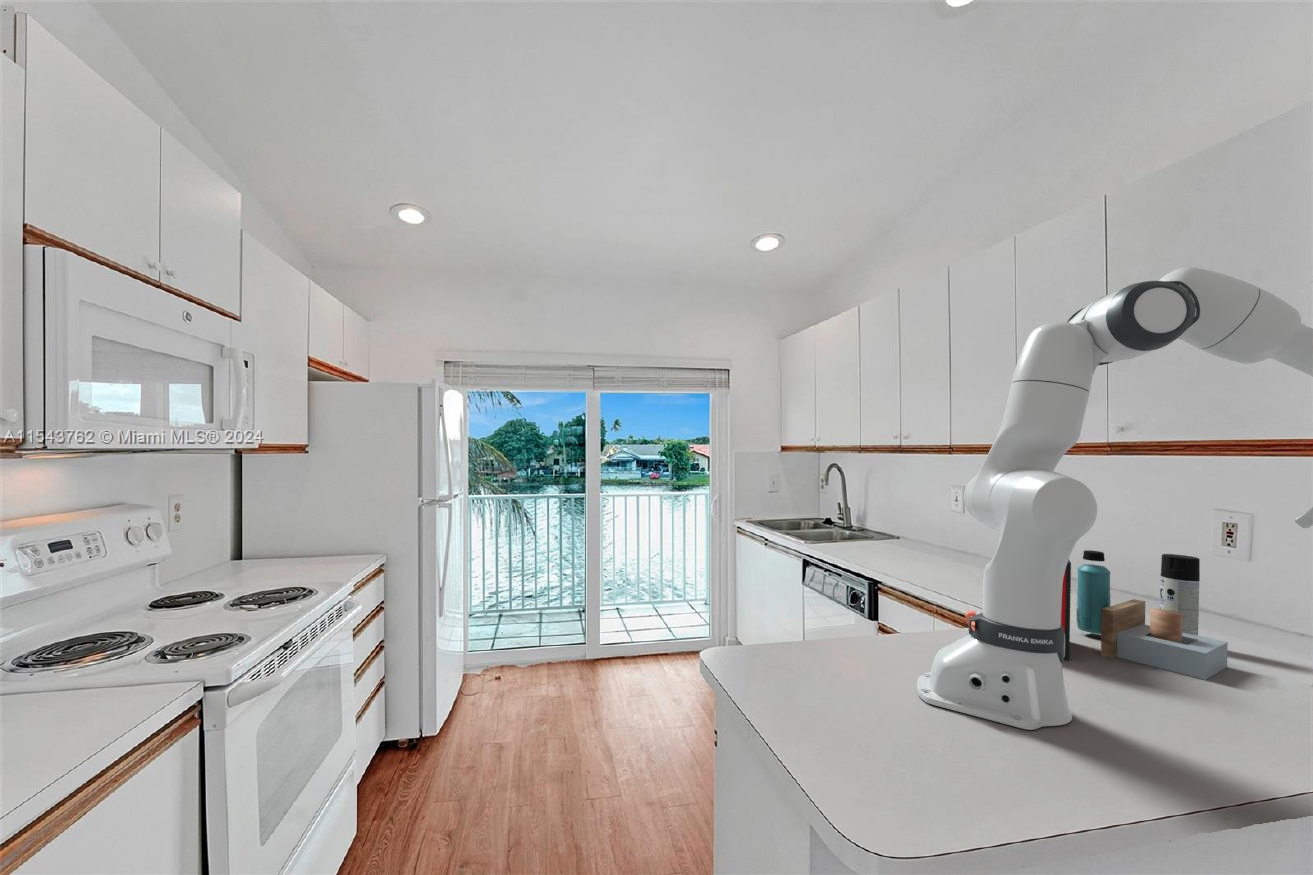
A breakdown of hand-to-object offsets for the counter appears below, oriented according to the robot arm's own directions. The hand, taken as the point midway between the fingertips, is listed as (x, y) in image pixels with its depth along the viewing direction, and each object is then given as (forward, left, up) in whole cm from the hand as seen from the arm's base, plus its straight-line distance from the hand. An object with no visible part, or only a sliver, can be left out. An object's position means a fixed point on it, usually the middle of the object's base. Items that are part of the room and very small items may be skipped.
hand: (1306, 523), depth 100 cm
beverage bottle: (-23, +32, -32) cm, 50 cm away
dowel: (-14, +19, -30) cm, 38 cm away
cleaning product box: (-35, +16, -32) cm, 50 cm away
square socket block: (-13, +18, -31) cm, 38 cm away
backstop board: (-20, +22, -31) cm, 43 cm away
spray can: (-7, +36, -32) cm, 48 cm away
